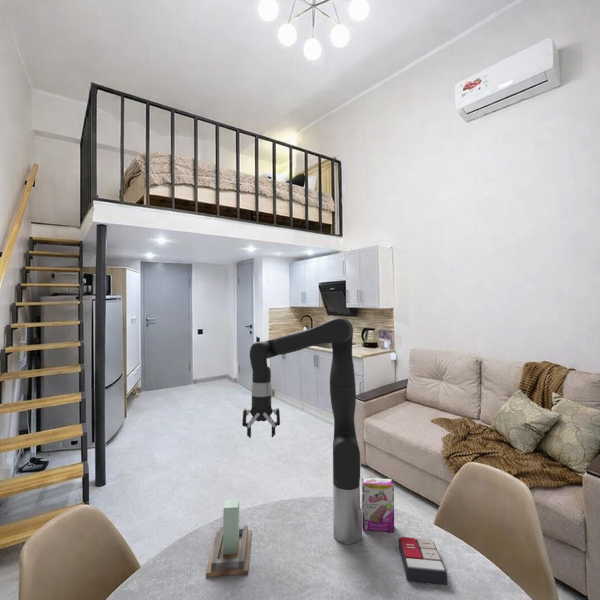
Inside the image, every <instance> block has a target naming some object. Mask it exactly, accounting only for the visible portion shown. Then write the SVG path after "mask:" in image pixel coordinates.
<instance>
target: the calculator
mask: <svg viewBox="0 0 600 600" xmlns="http://www.w3.org/2000/svg"><path fill="white" fill-rule="evenodd" d="M398 548H399V553H400V556H401V560H402V564H403V568H404V573H405V578H406V580H407V582H409V583H417V584H418V583H419V584H427V583H430V584H429V585H438V586H448V572H447V568H446V567H445V564H444V562H443V561H442V558H441V555H440V553H439V550H438V548H437V547H436V544H435V542H434V541H433V539H431V538H430V539H429V538H415V537H407V536H406V537H405V536H401V537H399V538H398Z"/></svg>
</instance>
